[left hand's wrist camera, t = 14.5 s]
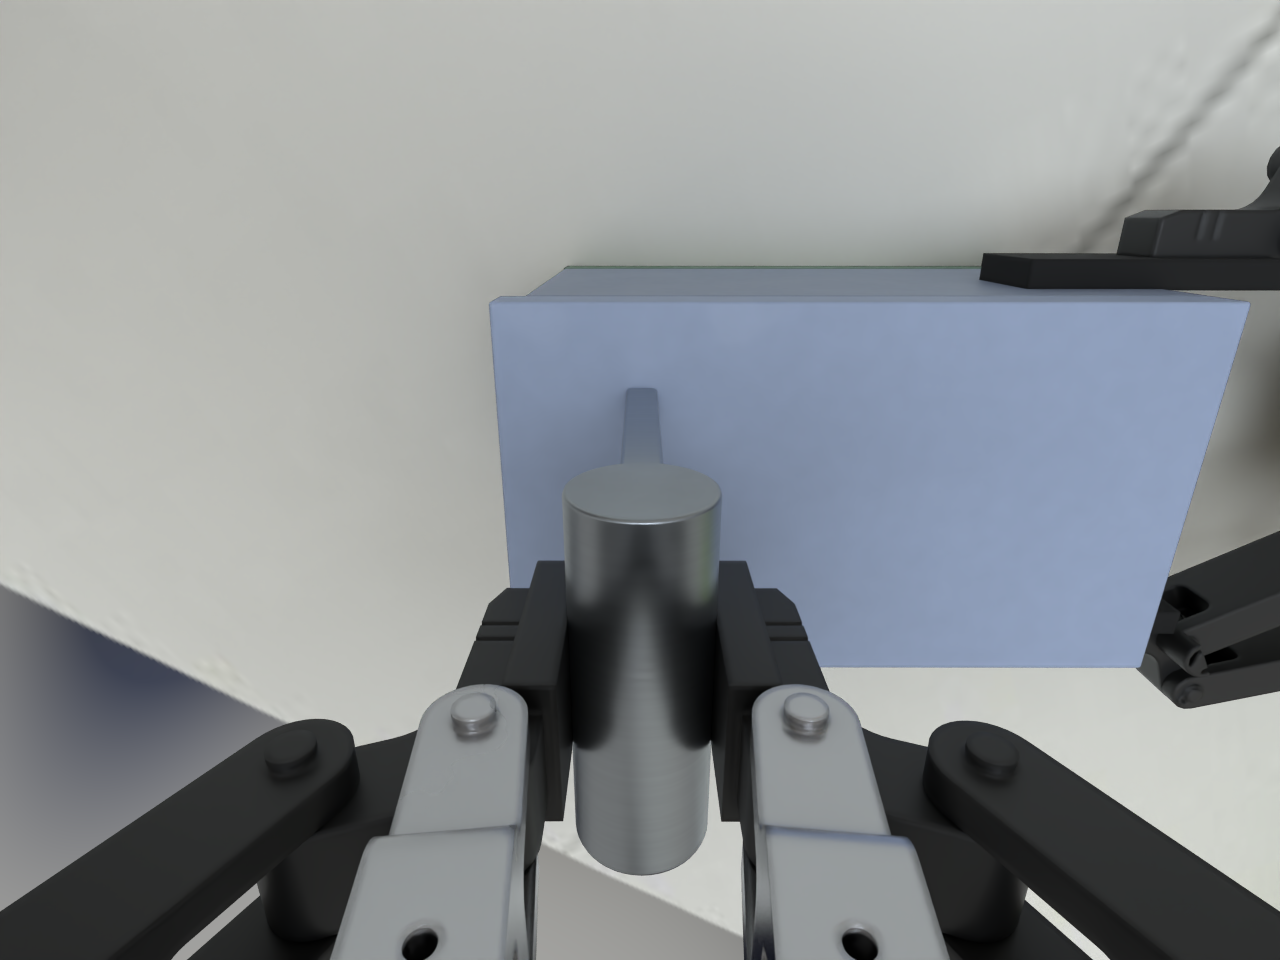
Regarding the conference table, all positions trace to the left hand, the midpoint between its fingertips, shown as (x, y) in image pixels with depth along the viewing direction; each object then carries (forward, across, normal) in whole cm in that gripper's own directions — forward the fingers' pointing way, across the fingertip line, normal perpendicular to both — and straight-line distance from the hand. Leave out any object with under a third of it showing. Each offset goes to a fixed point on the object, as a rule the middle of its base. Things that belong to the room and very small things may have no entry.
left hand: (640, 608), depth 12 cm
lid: (+6, -5, 0) cm, 8 cm away
